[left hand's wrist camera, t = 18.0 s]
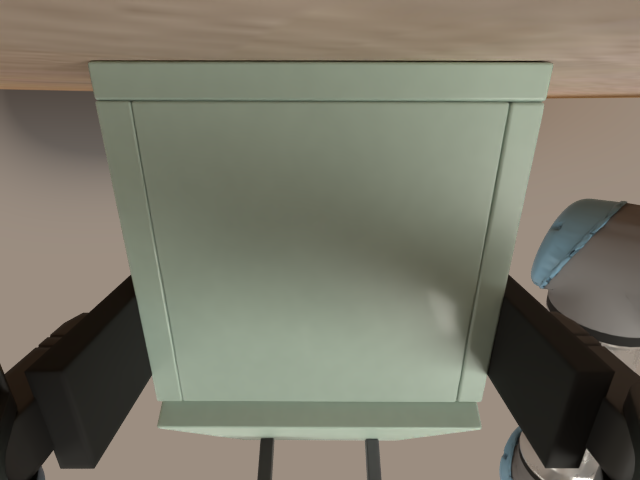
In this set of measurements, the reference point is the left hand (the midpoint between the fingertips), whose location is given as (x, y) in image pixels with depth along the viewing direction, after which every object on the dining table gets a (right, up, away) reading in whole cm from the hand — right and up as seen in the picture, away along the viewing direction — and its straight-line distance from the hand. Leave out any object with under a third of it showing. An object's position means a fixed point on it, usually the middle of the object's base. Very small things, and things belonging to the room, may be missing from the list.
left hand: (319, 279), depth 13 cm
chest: (0, +8, 0) cm, 8 cm away
